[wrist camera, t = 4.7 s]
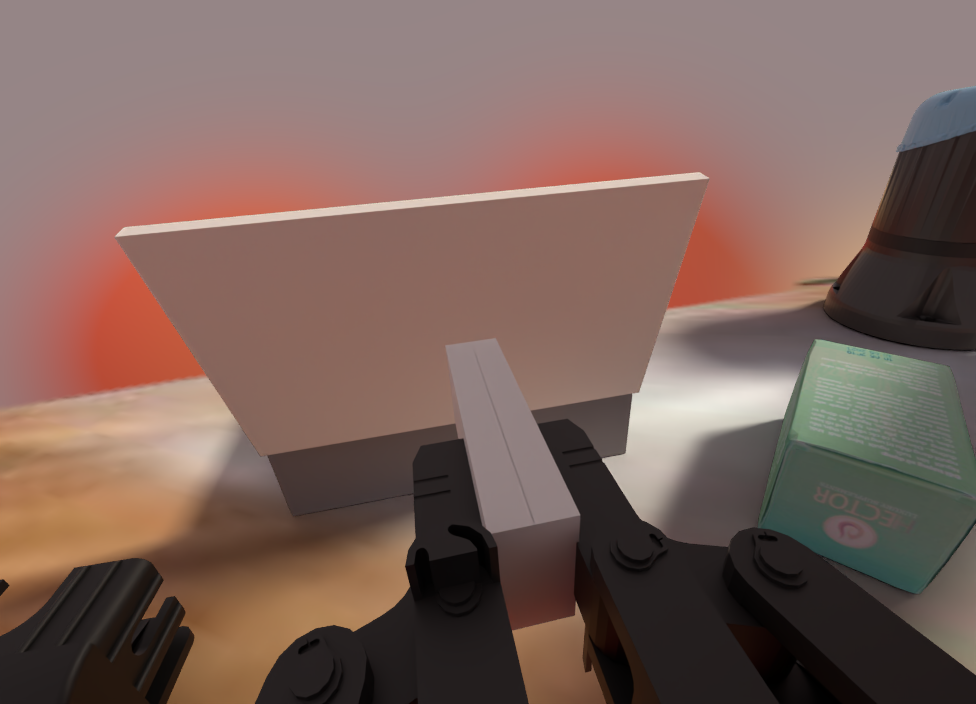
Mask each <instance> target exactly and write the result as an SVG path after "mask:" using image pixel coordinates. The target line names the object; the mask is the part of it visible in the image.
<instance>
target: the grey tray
mask: <svg viewBox="0 0 976 704" xmlns="http://www.w3.org/2000/svg"><path fill="white" fill-rule="evenodd" d="M631 401H632V394H626V395H620V396H614V397H608V398H602V399H596V400H590V401H584V402H579V403H573V404H567V405H561V406H555V407H549V408H543V409H537V410H531V413H532V415H533V417H534V419H535V421H536V423H537V424H539V423H545V422H551V421H556V420H562V419H569V420H570V421H571V422H573V423H574V424H576V425H577V426H578V427H580V428H581V429H583V430H584V432H585V433H586V435H587V436H588V438H589V439H590V441H591V443H592V444H593V446H594V449H596V451H597V452H598V454H599V455H600V457H601V458H603V457H608V456H613V455H618V454H624V453H625V452H626V443H627V435H628V426H629V418H630V409H631ZM456 439H458V434H457V429H456V424H449V425H443V426H437V427H431V428H425V429H420V430H414V431H408V432H402V433H396V434H390V435H384V436H378V437H372V438H367V439H361V440H355V441H349V442H343V443H337V444H331V445H325V446H319V447H314V448H308V449H302V450H296V451H290V452H284V453H278V454H272V455H267V456H268V458H269V461H270V463H271V465H272V468H273V470H274V473H275V475H276V477H277V480H278V482H279V485H280V487H281V490H282V492H283V494H284V497H285V499H286V502H287V504H288V506H289V509H290V511H291V514H292V516H297V515H302V514H308V513H313V512H318V511H324V510H329V509H334V508H339V507H345V506H350V505H355V504H360V503H366V502H371V501H376V500H381V499H387V498H392V497H397V496H402V495H408V494H413V493H414V488H413V485H414V483H413V465H412V463H413V461H414V459H415V457H416V455H417V452H418V450H419V448H420V446H422V445H428V444H434V443H439V442H445V441H451V440H456Z"/></svg>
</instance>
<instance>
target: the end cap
mask: <svg viewBox="0 0 976 704" xmlns="http://www.w3.org/2000/svg"><path fill="white" fill-rule="evenodd" d="M162 582H163V578H162V577H161V575H160V574H159V573H158V571H157V570H156V568H155V567H154V565H153V564H152V563H151V562H149V561H147V560H144V559H139V558H132V559H126V560H120V561H113V562H107V563H101V564H95V565H89V566H83V567H77V568H74V569H73V570H72V572H71V573H70V574H69V575H68V577H67V578H66V579H65V580H64V582H63V583H62V584H61V585H60V587H59V588H58V589H57V591H56V592H55V593H54V594H53V596H52V597H51V598H50V599H49V601H48V602H47V603H46V604H45V605H44V606H43V607H42V608H41V609H40V610H39V611H38V612H37V613H36V614H34V615H33V616H32V617H31V618H29V619H28V620H27V621H25V622H24V623H23V624H21V625H20V626H18V627H16V628H15V629H13V630H11V631H10V632H8V633H6V634H4V635H2V636H0V704H166V703H167V701H168V699H169V696H170V694H171V692H172V690H173V687H174V685H175V683H176V681H177V678H178V676H179V674H180V672H181V669H182V667H183V665H184V662H185V660H186V658H187V656H188V653H189V651H190V649H191V647H192V644H193V641H194V634H193V633H192V631H191V630H190V629H189V627H186V626H182V627H179V626H180V624H181V622H182V620H183V618H184V615H185V610H184V608H183V607H182V605H181V604H180V603H179V601H178V600H177V598H176V597H175V596H174V597H168V598H166V599H165V601H164V603H163V605H162V607H161V609H160V610H159V612H158V614H157V616H156V617H155V618H149V619H144V620H141V619H142V617H143V616H144V614H145V612H146V610H147V609H148V607H149V605H150V603H151V602H152V600H153V598H154V596H155V594H156V593H157V591H158V589H159V587H160V586H161V584H162ZM9 586H10V585H9V584H8V583H7V582H6V581H5V580H4V579H3V580H0V596H1V595H2V593H3V592H4V591H5V590H6V589H7V588H8V587H9Z"/></svg>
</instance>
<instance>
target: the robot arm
mask: <svg viewBox="0 0 976 704" xmlns="http://www.w3.org/2000/svg"><path fill="white" fill-rule="evenodd" d="M896 152H899V154H898V157H897V159H896V162H895V165H894V167H893V170H892V173H891V175H890V178H889V181H888V183H887V186H886V189H885V191H884V194H883V197H882V199H881V202H880V205H879V207H878V210H877V213H876V215H875V218H874V221H873V223H872V226H871V229H870V232H869V235H868V238H867V240H866V243H865V244H864V246H863V248H862V249H861V250H860V252H859V253H858V254H857V255H856V256H855V258H854V259H853V260H852V262H851V263H850V264H849V265H848V266H847V268H846V269H845V270H844V271H843V273H842V274H841V275H840V277H839V278H838V279H837V281H836V282H835V283H834V284H833V285H832V286H831V288H830V290H829V292H828V295H827V298H826V301H825V304H824V310H825V312H826V313H827V314H828V315H829V316H830V317H831V318H833V319H834V320H836V321H837V322H839V323H841V324H843V325H845V326H847V327H850V328H852V329H855V330H857V331H860V332H863V333H866V334H869V335H872V336H876V337H879V338H883V339H887V340H891V341H896V342H900V343H905V344H911V345H917V346H924V347H931V348H941V349H957V350H973V349H976V86H972V87H967V88H961V89H955V90H950V91H944V92H941V93H938V94H936V95H934V96H932V97H930V98H929V99H927V100H926V101H924V102H923V103H922V104H921V105H920V106H919V107H918V108H917V110H916V111H915V113H914V115H913V117H912V120H911V122H910V124H909V126H908V129H907V131H906V134H905V136H904V138H903V141H902V143H901V144H900V145H899V146H898V147H897V150H896ZM445 347H446V355H447V363H448V371H449V379H450V386H451V394H452V402H453V410H454V418H455V424H456V429H457V434H458V439H456V440H451V441H445V442H439V443H434V444H428V445H422V446H420V448H419V450H418V452H417V455H416V457H415V459H414V461H413V463H412V465H413V483H414V485H413V488H414V510H415V533H416V539H415V540H414V542H413V543H412V545H411V547H410V548H409V550H408V555H407V560H406V565H405V567H406V571H407V575H408V579H409V583H410V588H409V589H408V591H407V593H406V594H405V596H404V597H403V598H402V599H401V600H400V601H399V602H398V603H397V604H396V605H395V607H393V608H392V609H390V610H389V611H388V612H386V613H385V614H383V615H382V616H380V617H379V618H377V619H375V620H373V621H372V622H370V623H368V624H366V625H365V626H363V627H361V628H360V629H358V630H356V631H354V632H352V631H351V630H350V629H348V628H343V627H339V626H335V625H332V626H327V627H321V628H316V629H314V630H312V631H310V632H309V633H307V634H305V635H303V636H301V637H300V638H298V639H296V640H295V641H294V642H293V643H292V644H291V645H290V646H289V647H288V648H287V649H286V650H285V651H284V652H283V653H282V654H281V655H280V656H279V658H278V659H277V661H276V663H275V664H274V666H273V668H272V669H271V671H270V673H269V674H268V676H267V678H266V680H265V682H264V684H263V687H262V689H261V691H260V693H259V696H258V698H257V700H256V702H255V704H529V703H528V698H527V694H526V690H525V685H524V681H523V677H522V673H521V668H520V664H519V660H518V655H517V651H516V647H515V642H514V638H513V634H512V630H516V629H520V628H524V627H529V626H533V625H537V624H541V623H545V622H549V621H553V620H557V619H561V618H566V617H570V616H574V615H575V603H576V601H577V604H578V607H579V609H580V612H581V614H582V617H583V620H584V622H585V636H584V648H583V662H584V668H585V673H586V672H589V671H591V666H592V665H593V667H594V670H595V673H596V676H597V678H598V681H599V684H600V687H601V689H602V692H603V695H604V698H605V700H606V703H607V704H976V675H975V674H973V673H972V672H971V671H969V670H968V669H967V668H965V667H964V666H963V665H962V664H960V663H959V662H958V661H956V660H955V659H954V658H952V657H951V656H950V655H948V654H947V653H946V652H944V651H943V650H942V649H941V648H939V647H938V646H937V645H935V644H934V643H933V642H931V641H930V640H929V639H927V638H926V637H925V636H923V635H922V634H921V633H920V632H918V631H917V630H916V629H914V628H913V627H912V626H910V625H909V624H908V623H906V622H905V621H904V620H902V619H901V618H900V617H899V616H897V615H896V614H895V613H893V612H892V611H891V610H889V609H888V608H887V607H885V606H884V605H883V604H881V603H880V602H879V601H877V600H876V599H875V598H874V597H872V596H871V595H870V594H868V593H867V592H866V591H864V590H863V589H862V588H860V587H859V586H858V585H856V584H855V583H854V582H853V581H851V580H850V579H849V578H847V577H846V576H845V575H843V574H842V573H841V572H839V571H838V570H837V569H835V568H834V567H833V566H832V565H830V564H829V563H828V562H826V561H825V560H824V559H822V558H821V557H820V556H818V555H817V554H816V553H814V552H813V551H812V550H811V549H809V548H808V547H807V546H805V545H803V544H802V543H800V542H798V541H797V540H795V539H793V538H792V537H790V536H788V535H785V534H783V533H780V532H777V531H774V530H771V529H763V528H749V529H746V530H742V531H739V532H738V533H737V534H736V535H735V536H734V537H733V538H732V539H731V541H730V544H729V547H720V546H709V545H698V544H688V543H683V542H678V541H674V540H672V539H669V538H667V537H666V536H665V535H664V534H663V533H662V532H661V530H659V529H657V528H656V527H654V526H652V525H650V524H649V523H647V522H645V521H642V520H641V519H640V518H639V517H638V515H637V514H636V513H635V511H634V510H633V508H632V506H631V505H630V503H629V502H628V500H627V499H626V497H625V495H624V494H623V492H622V491H621V489H620V487H619V486H618V484H617V483H616V481H615V479H614V478H613V476H612V475H611V473H610V471H609V470H608V468H607V467H606V465H605V463H603V462H602V459H601V457H600V455H599V454H598V452H597V451H596V449H594V446H593V444H592V443H591V441H590V439H589V438H588V436H587V435H586V433H585V432H584V430H583V429H581V428H580V427H578V426H577V425H576V424H574V423H573V422H571V421H570V420H569V419H562V420H556V421H551V422H545V423H539V424H537V423H536V421H535V419H534V417H533V415H532V413H531V411H530V409H529V407H528V404H527V402H526V400H525V398H524V396H523V394H522V392H521V390H520V388H519V386H518V384H517V382H516V379H515V377H514V375H513V373H512V371H511V369H510V367H509V365H508V363H507V361H506V359H505V356H504V354H503V352H502V350H501V348H500V346H499V344H498V342H497V340H496V338H493V339H486V340H479V341H472V342H465V343H459V344H452V345H445Z"/></svg>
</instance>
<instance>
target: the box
mask: <svg viewBox="0 0 976 704" xmlns="http://www.w3.org/2000/svg"><path fill="white" fill-rule="evenodd" d="M975 524H976V459H975V455H974V452H973V448H972V445H971V442H970V438H969V434H968V430H967V426H966V422H965V418H964V414H963V411H962V407H961V403H960V399H959V395H958V390H957V386H956V383H955V379H954V376H953V373H952V371H951V369H950V367H949V366H946V365H941V364H937V363H932V362H927V361H922V360H917V359H912V358H908V357H903V356H898V355H893V354H888V353H883V352H879V351H874V350H869V349H864V348H859V347H854V346H850V345H845V344H840V343H835V342H830V341H826V340H818V339H815V340H814V342H813V344H812V345H811V347H810V349H809V351H808V354H807V356H806V358H805V361H804V363H803V366H802V368H801V371H800V374H799V376H798V379H797V382H796V384H795V387H794V390H793V393H792V396H791V398H790V401H789V404H788V407H787V410H786V413H785V417H784V421H783V424H782V428H781V432H780V436H779V440H778V443H777V447H776V451H775V455H774V459H773V463H772V467H771V470H770V474H769V478H768V482H767V487H766V491H765V495H764V499H763V503H762V507H761V511H760V515H759V520H758V528H763V529H771V530H774V531H777V532H780V533H783V534H785V535H788V536H790V537H792V538H793V539H795V540H797V541H798V542H800V543H802V544H803V545H805V546H807V547H808V548H809V549H811V550H812V551H813V552H814V553H816V554H819V555H821V556H823V557H826V558H828V559H831V560H833V561H835V562H838V563H840V564H842V565H845V566H847V567H850V568H852V569H854V570H857V571H859V572H862V573H864V574H866V575H869V576H871V577H873V578H876V579H878V580H880V581H882V582H885V583H887V584H889V585H891V586H894V587H897V588H900V589H903V590H905V591H908V592H911V593H915V594H921V592H922V591H923V590H924V589H925V588H926V587H927V586H928V585H929V584H930V583H931V582H932V580H933V579H934V578H935V577H936V575H937V574H938V573H939V572H940V571H941V569H942V568H943V567H944V566H945V564H946V563H947V562H948V561H949V559H950V558H951V556H952V555H953V554H954V552H955V551H956V550H957V548H958V547H959V546H960V544H961V543H962V542H963V540H964V539H965V538H966V536H967V535H968V533H969V532H970V531H971V529H972V528H973V526H974V525H975Z"/></svg>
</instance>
